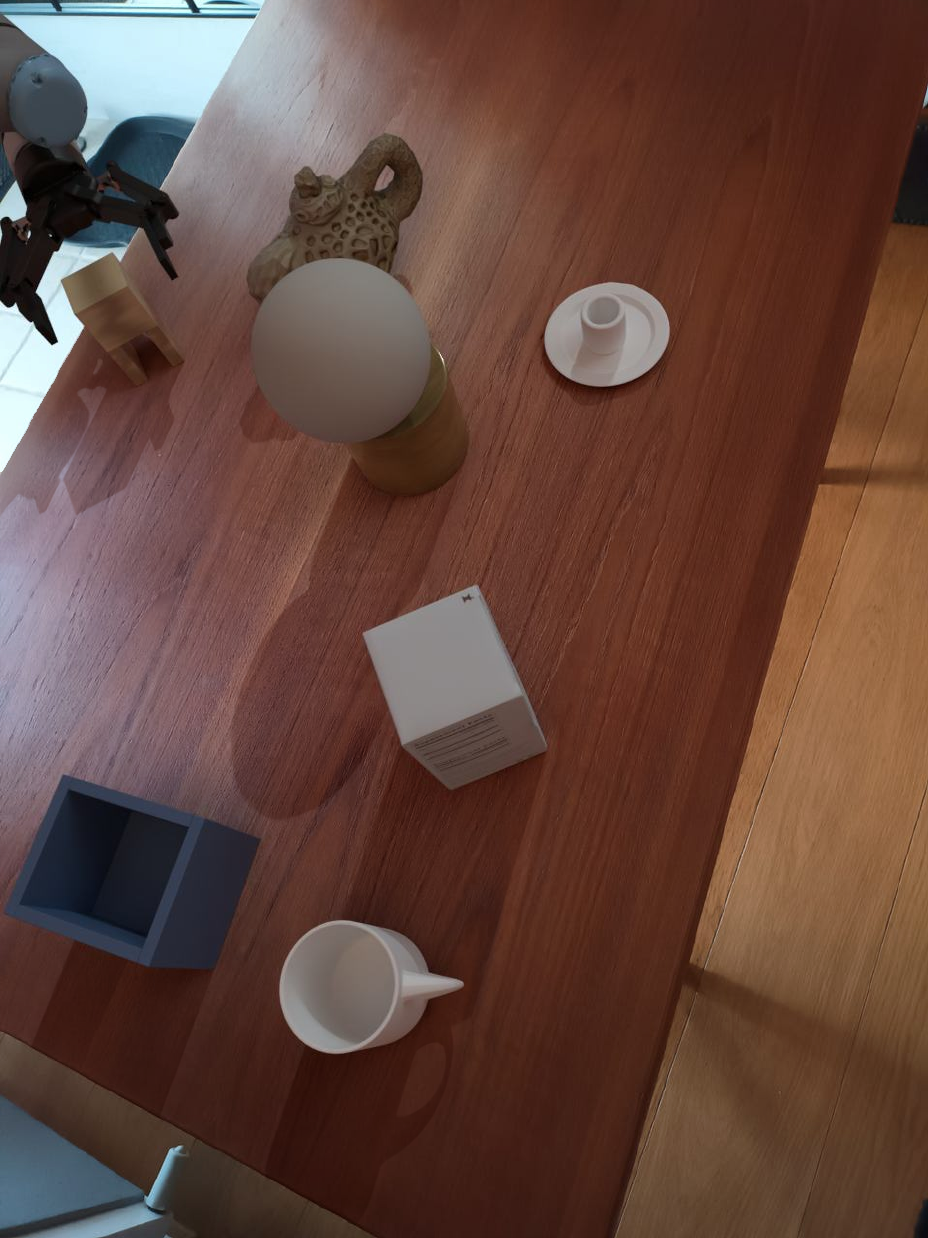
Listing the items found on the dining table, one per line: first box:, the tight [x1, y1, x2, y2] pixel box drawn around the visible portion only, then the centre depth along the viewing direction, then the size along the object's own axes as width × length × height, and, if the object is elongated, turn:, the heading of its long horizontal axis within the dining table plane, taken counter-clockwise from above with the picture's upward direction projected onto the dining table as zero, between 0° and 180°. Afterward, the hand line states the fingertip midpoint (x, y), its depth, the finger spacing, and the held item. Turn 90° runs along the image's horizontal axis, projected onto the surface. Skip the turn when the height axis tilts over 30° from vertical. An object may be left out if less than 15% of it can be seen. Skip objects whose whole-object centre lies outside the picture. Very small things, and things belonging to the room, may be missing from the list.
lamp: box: [250, 258, 470, 497], centre depth 81 cm, size 15×14×25 cm
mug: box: [278, 919, 465, 1055], centre depth 70 cm, size 9×12×11 cm
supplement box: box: [361, 584, 548, 791], centre depth 74 cm, size 10×9×17 cm
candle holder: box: [543, 281, 671, 388], centre depth 91 cm, size 12×12×4 cm
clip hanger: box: [60, 251, 185, 387], centre depth 98 cm, size 6×5×12 cm
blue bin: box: [3, 773, 261, 970], centre depth 77 cm, size 13×11×11 cm
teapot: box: [246, 132, 424, 307], centre depth 95 cm, size 21×12×15 cm, turn 129°
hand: (108, 302), depth 94 cm, fingers open, 13 cm apart
